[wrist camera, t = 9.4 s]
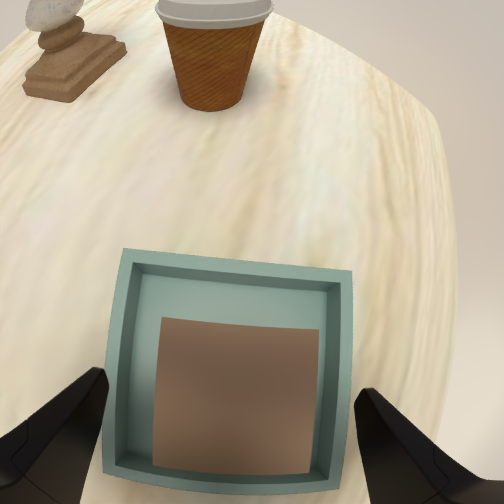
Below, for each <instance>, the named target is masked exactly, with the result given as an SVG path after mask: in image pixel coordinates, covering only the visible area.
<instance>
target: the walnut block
mask: <svg viewBox="0 0 504 504" xmlns="http://www.w3.org/2000/svg"><path fill="white" fill-rule="evenodd" d="M318 354H319V329H298V328H278V327H262V326H248V325H235V324H224V323H213V322H203V321H194V320H185V319H177V318H169V317H162V318H161V326H160V336H159V346H158V356H157V368H156V382H155V397H154V418H153V465H155V466H160V467H166V468H173V469H180V470H187V471H196V472H205V473H218V474H235V475H283V474H301V473H309V469H310V461H311V452H312V442H313V431H314V420H315V407H316V393H317V375H318Z"/></svg>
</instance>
